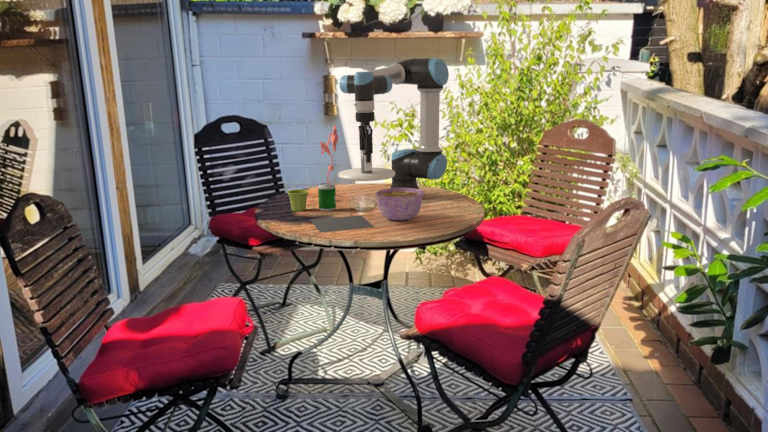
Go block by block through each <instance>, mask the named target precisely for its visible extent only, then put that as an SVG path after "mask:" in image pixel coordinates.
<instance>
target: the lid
mask: <svg viewBox="0 0 768 432" xmlns="http://www.w3.org/2000/svg"><path fill="white" fill-rule="evenodd" d="M363 153H365V150H360V167H357V168H349V169H345V170H341V171H339V172H338V173H337V174H338V178H339V179H340V180H344V181H350V182H374V181H375V182H376V181H383V180H388V179H392V177H394V176H395V171H394V170H392V168H385V167H372V170H371V171H365V160H364V155H363ZM372 155H373V153H372V154H371V160H372V161H373V159H372V157H373V156H372Z"/></svg>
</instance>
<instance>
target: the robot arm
mask: <svg viewBox="0 0 768 432" xmlns="http://www.w3.org/2000/svg"><path fill="white" fill-rule="evenodd" d="M449 76H450V75H449V68H448V65H447V64H446V62H445V61H444V60H443V59H441V58H435V57H432V58H431V57H429V58H427V57H426V58H422V57H421V58H420V57H419V58H416V57H415V58H408V59H404V60H401V61H398V62H397V61H396V62H393V63H391V64H390V65H389V66H386V67H381V68H378V69H373V70H368V71H357V72H355V73H354V74H347V75H342V76H341V77H340V79H339V82H338V83H339V84H338V85H339V90H340V91H341V92H342V93H344V94H349V95H350V94H352V95H354V103H353V107H355V109H354V110H355V111H356V112H355V114H354V115H355V121H356V122H357V123H360V125H358V136H359V151H361V150H365V153H363V155H364V160H365V171H371V170H372V168H373V159H372V160H371V154H372V155H373V152H374V151H373V150H374V145H373V144H374V143H373V132H374V131H373V128H372V126H371V122H374V121H375V119H376V117H375V112H374V111H375V96H376V95H385V94H388V93H390V92H391V90H392V89H393V85H416V90H418V92H419V93H420V95H419V97H420V101H419V102H420V103H419V104H420V111H419V112H420V113H419V114H420V115H419V116H420V117H419V119H420V120H419V125H420V126H419V146H418V147H417V148H408V149H407V148H406V149H400V150H394V151H393V152H392V153H391V161H390V162H391V170H394V171H395V176H394V177H392V178H391V184H390V188H413V189H419V190H420V187H419V185H418V183H417V182H418V181H417V179H425V180H430V181H431V180H439V179H441V178H442V177H443V176H444V174H445V173H446V171H447V166H448V159H447V157H446V155H445V154H443V149H442V148H441V147H440V145H439V144H440V95H441V94H440V93H441V92H442V91H443V90H444V86H445V85H446V84H447V83H448V80H449Z"/></svg>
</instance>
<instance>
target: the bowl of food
mask: <svg viewBox="0 0 768 432" xmlns="http://www.w3.org/2000/svg"><path fill="white" fill-rule="evenodd" d="M375 197H376V201H377V204H378V208H379V212H380V213H381V215H382V216H384V217H385V218H387V219H388V220H392V221H399V222H400V221H403V222H404V221H410V220H411V219H413V218H414V217H416V216H418V215H419V213H420V210H421V205H422V201H423V197H424V191H423V190H421V189H420V188H419V189H413V188H384V189H380V190H377V191H375Z"/></svg>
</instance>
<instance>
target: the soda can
mask: <svg viewBox="0 0 768 432" xmlns="http://www.w3.org/2000/svg"><path fill="white" fill-rule="evenodd" d="M317 191H318V195H317V196H318V209H319V210H320V211H321V212H332V211H335V210H336V209H337V201H336V200H337V197H336V194H337V192H336V185H335V184H334V183H331V182H330V183H329V182H328V183H327V182H323V183H322V182H321V183H320V184H319V185H318V187H317Z"/></svg>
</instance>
